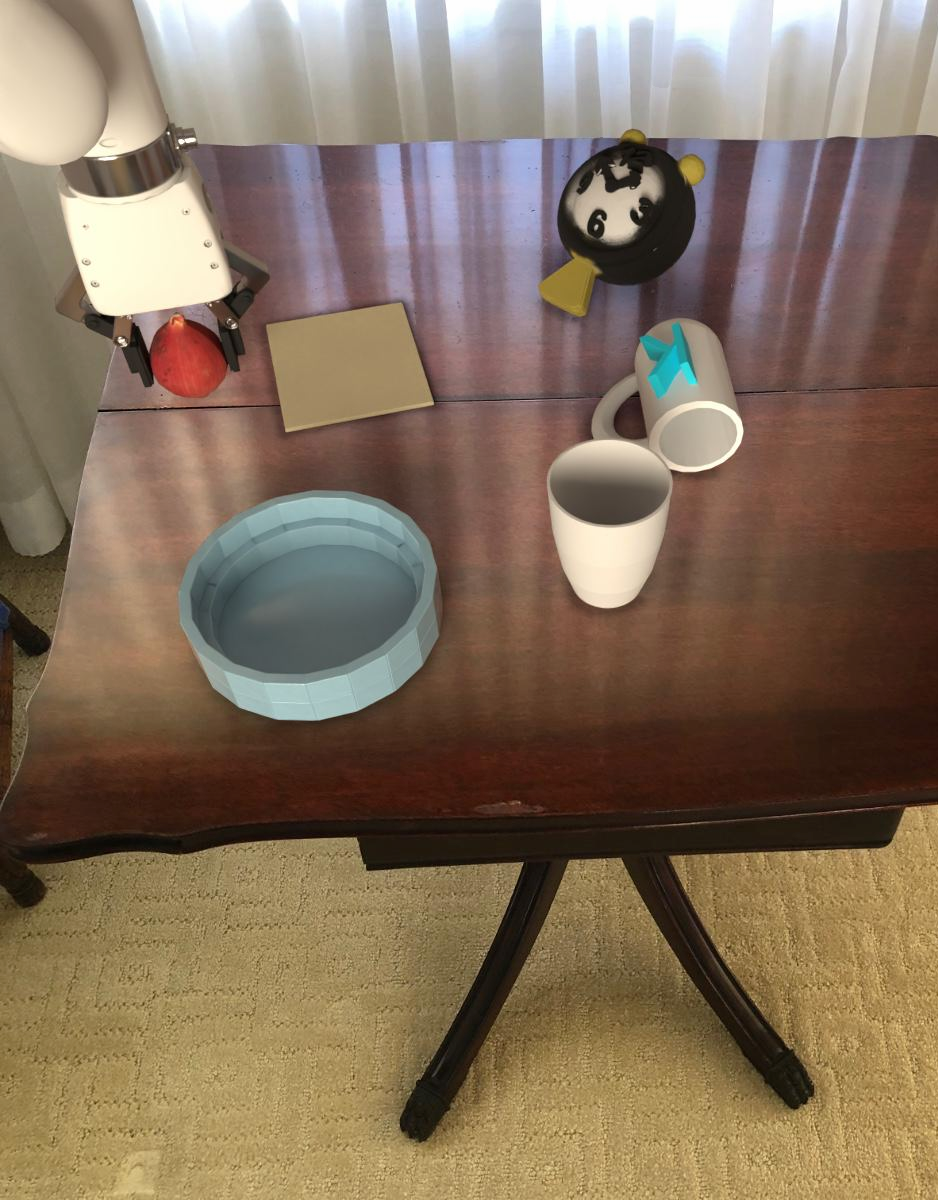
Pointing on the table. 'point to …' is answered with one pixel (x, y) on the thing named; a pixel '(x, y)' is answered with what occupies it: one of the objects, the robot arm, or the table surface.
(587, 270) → the alarm clock
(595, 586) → the cup
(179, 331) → the onion
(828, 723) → the table surface
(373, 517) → the pan
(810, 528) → the table surface
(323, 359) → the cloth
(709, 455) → the mug
